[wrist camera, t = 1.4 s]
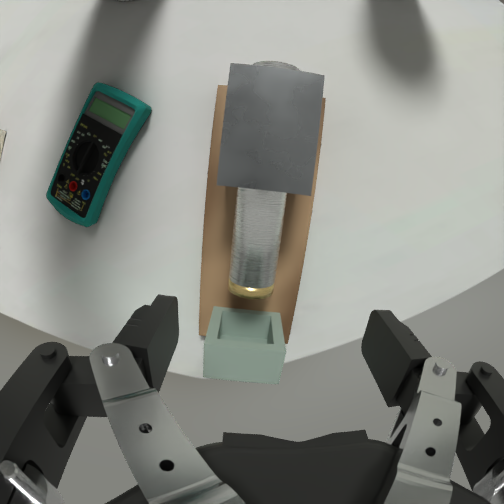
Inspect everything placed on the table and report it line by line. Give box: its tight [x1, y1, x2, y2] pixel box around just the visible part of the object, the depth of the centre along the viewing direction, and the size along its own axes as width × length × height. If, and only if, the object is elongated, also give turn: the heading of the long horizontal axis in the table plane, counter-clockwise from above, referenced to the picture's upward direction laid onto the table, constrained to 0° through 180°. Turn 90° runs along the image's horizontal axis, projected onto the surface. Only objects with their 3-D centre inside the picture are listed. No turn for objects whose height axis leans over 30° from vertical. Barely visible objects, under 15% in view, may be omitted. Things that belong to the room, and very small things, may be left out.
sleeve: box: [217, 63, 324, 196], centre depth 21 cm, size 7×9×7 cm
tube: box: [228, 61, 300, 299], centre depth 22 cm, size 4×19×4 cm, turn 174°
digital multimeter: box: [46, 82, 152, 227], centre depth 25 cm, size 7×15×3 cm, turn 148°
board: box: [199, 85, 326, 344], centre depth 28 cm, size 10×26×2 cm, turn 174°
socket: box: [203, 306, 286, 384], centre depth 27 cm, size 7×4×7 cm, turn 84°
